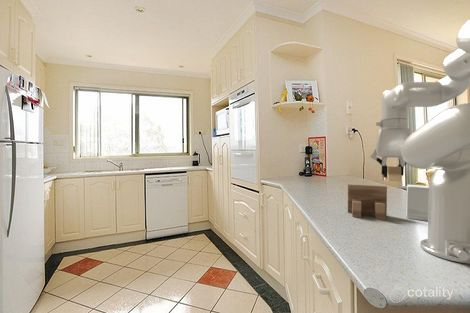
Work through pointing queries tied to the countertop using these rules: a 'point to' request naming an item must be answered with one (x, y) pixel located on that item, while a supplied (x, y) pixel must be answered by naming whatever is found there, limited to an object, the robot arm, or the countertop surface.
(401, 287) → the countertop surface
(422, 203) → the supplement box
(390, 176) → the light wooden block
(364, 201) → the wooden stand
